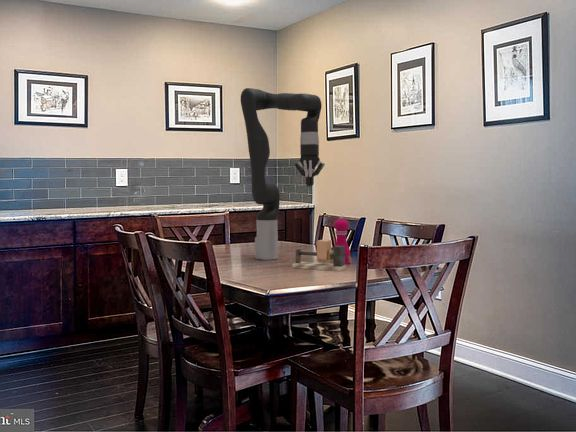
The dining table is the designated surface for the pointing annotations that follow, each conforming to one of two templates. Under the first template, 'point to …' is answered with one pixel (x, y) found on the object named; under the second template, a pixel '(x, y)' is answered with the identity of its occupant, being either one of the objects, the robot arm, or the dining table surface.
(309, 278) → the dining table surface
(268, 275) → the dining table surface
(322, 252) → the marker sleeve
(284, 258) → the dining table surface
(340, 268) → the cord stand
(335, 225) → the pepper mill
